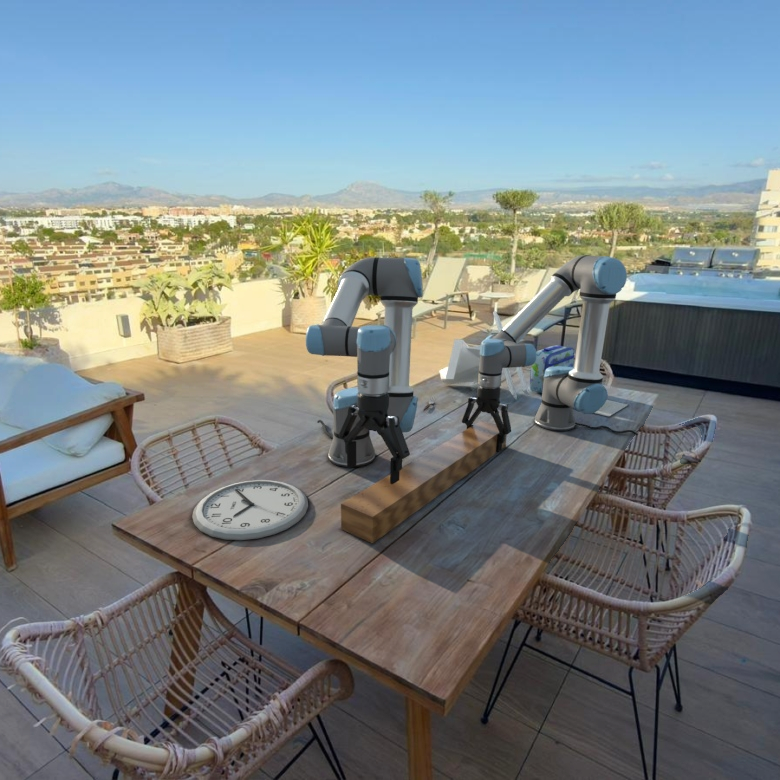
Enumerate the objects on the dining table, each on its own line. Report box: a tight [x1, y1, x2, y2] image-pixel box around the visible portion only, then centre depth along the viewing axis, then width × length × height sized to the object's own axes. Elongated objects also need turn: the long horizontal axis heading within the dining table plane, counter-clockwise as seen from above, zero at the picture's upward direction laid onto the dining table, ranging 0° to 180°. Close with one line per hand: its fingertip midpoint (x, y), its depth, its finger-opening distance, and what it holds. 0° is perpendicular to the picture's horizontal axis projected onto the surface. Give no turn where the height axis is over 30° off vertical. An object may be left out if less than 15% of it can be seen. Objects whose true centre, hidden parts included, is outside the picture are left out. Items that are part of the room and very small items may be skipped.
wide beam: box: [340, 420, 508, 544], centre depth 156 cm, size 75×10×7 cm, turn 143°
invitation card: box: [593, 399, 629, 418], centre depth 226 cm, size 21×1×15 cm
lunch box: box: [529, 345, 575, 394], centre depth 245 cm, size 26×11×21 cm, turn 134°
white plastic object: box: [438, 310, 531, 400], centre depth 245 cm, size 37×45×31 cm
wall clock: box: [191, 479, 309, 541], centre depth 140 cm, size 30×2×30 cm
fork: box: [422, 395, 437, 412], centre depth 223 cm, size 3×16×2 cm, turn 160°
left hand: (372, 473), depth 129 cm, fingers open, 13 cm apart
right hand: (484, 447), depth 181 cm, fingers closed on wide beam, 10 cm apart
